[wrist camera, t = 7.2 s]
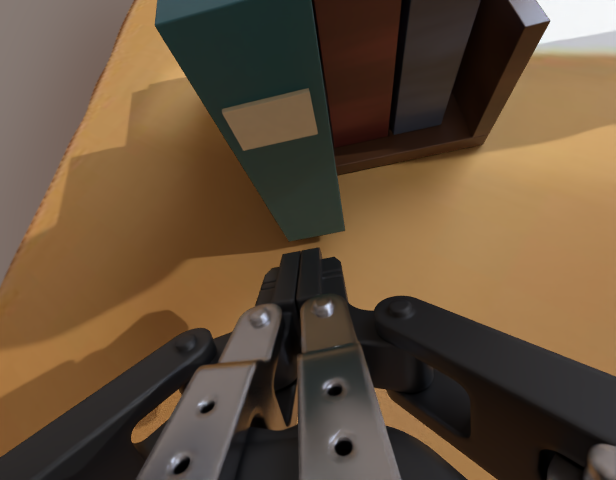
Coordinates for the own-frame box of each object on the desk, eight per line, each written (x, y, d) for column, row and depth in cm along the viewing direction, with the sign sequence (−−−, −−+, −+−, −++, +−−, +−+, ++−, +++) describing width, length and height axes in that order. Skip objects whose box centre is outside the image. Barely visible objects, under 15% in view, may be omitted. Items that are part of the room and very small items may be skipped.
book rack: (256, 64, 31) (167, -181, 17) (427, 20, 29) (485, -294, 15) (267, 190, 25) (146, -27, 11) (483, 144, 23) (661, -182, 9)
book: (274, 113, 26) (173, -163, 12) (320, 102, 26) (268, -197, 12) (288, 244, 21) (153, 30, 8) (345, 233, 21) (310, -13, 7)
